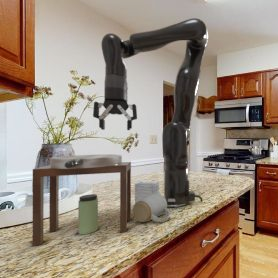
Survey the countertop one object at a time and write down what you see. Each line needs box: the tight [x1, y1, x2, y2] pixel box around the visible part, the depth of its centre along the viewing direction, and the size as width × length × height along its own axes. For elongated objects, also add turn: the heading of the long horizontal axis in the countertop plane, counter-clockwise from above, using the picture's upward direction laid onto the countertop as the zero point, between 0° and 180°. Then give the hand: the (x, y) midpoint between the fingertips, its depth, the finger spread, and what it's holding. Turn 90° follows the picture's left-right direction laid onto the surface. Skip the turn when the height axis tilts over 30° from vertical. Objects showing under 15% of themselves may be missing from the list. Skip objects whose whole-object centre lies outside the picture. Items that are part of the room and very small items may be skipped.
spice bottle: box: [77, 193, 99, 235], centre depth 59 cm, size 4×4×10 cm
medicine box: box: [134, 181, 160, 205], centre depth 84 cm, size 8×4×9 cm, turn 84°
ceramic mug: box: [132, 192, 171, 223], centre depth 68 cm, size 11×8×8 cm
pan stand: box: [32, 154, 132, 247], centre depth 56 cm, size 20×23×21 cm
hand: (116, 129), depth 81 cm, fingers open, 8 cm apart
